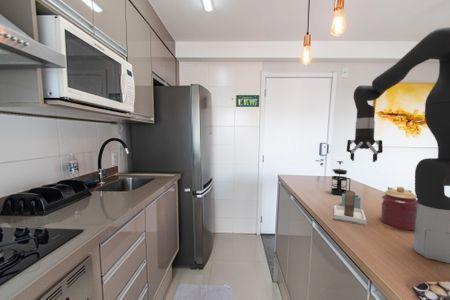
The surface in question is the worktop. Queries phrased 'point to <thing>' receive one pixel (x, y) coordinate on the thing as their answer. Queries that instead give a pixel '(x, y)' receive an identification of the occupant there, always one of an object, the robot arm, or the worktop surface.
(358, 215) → the white tray
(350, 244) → the worktop surface
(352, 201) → the walnut peg
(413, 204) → the canister
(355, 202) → the teal pot
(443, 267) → the worktop surface
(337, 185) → the french press
